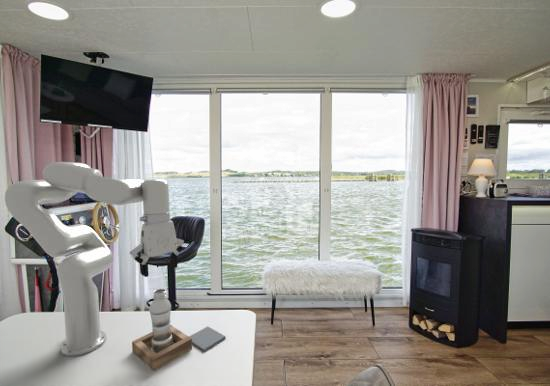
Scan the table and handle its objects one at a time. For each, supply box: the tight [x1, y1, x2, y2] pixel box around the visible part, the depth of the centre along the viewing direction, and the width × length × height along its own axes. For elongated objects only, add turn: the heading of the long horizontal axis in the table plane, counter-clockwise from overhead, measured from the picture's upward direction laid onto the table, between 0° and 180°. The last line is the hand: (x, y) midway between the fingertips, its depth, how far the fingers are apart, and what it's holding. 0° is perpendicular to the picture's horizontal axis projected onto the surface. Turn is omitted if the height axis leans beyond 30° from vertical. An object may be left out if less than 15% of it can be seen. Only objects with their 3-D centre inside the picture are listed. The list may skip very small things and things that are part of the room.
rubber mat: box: [189, 326, 226, 353], centre depth 94 cm, size 10×9×1 cm
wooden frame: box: [131, 324, 193, 372], centre depth 89 cm, size 14×13×4 cm
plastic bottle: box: [148, 288, 174, 354], centre depth 88 cm, size 6×7×20 cm
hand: (160, 271), depth 87 cm, fingers open, 9 cm apart
